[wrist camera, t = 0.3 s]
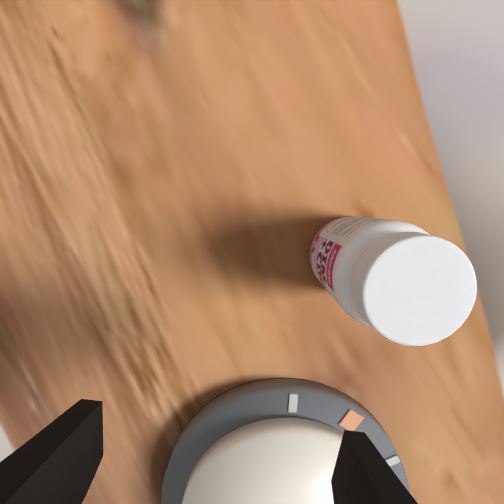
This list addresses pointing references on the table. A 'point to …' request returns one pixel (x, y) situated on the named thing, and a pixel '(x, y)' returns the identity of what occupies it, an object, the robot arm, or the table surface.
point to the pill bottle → (395, 278)
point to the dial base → (268, 407)
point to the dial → (268, 465)
